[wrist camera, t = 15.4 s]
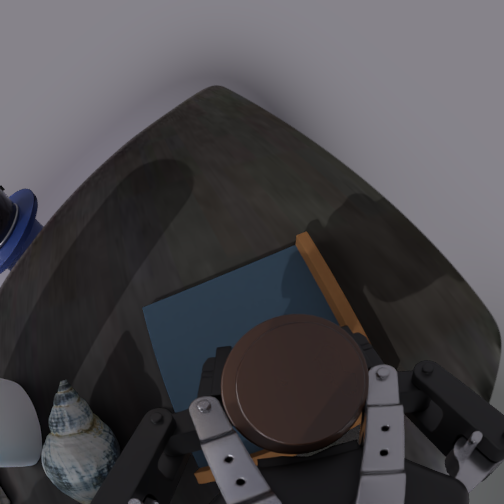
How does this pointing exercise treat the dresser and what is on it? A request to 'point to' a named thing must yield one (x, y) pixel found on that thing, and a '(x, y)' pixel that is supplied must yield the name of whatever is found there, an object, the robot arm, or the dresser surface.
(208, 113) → the dresser surface
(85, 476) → the seashell
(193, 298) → the corner mat
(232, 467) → the robot arm
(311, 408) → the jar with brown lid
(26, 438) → the tall pillar cylinder
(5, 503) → the stone
